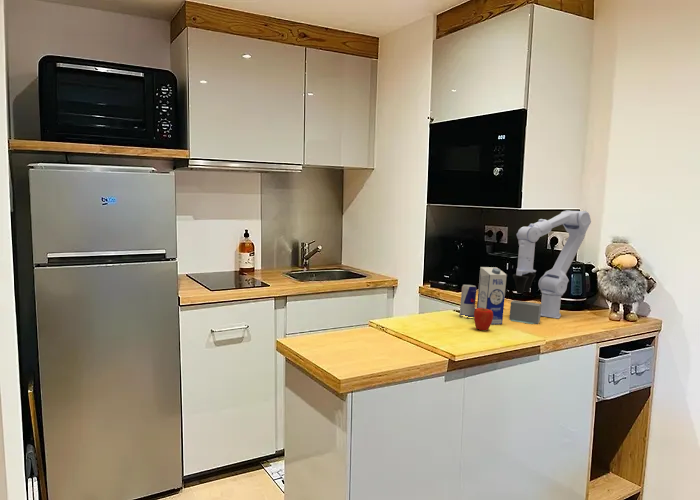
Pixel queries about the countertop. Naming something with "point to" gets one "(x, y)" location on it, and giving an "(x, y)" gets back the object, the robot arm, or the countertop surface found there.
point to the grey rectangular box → (525, 311)
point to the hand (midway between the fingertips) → (522, 292)
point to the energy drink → (468, 300)
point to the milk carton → (492, 292)
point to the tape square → (522, 321)
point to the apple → (483, 318)
